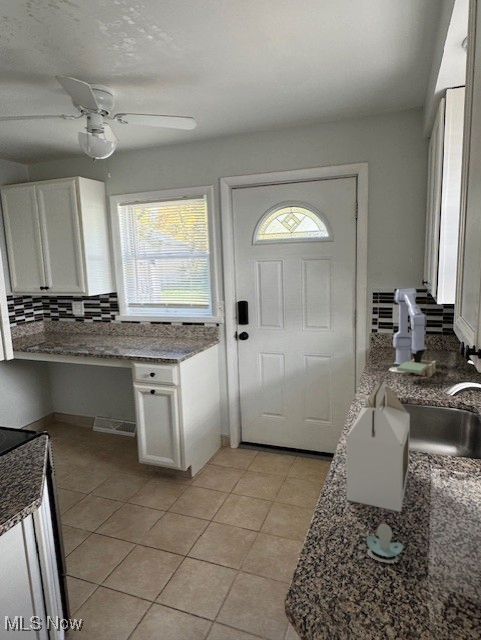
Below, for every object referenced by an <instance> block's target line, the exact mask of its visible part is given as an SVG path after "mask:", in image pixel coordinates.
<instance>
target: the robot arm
mask: <svg viewBox="0 0 481 640" xmlns="http://www.w3.org/2000/svg"><path fill="white" fill-rule="evenodd" d="M416 298H417V290H416V288H397V289H396V290H395V300H394V301H395V303H396V304H398V331H397V332H395V333H394V334H393V339H392V345H393V347H394V348H395V361H394V362H393V365H398V366H400V365H401V364H403V363H404V362H406V361H407V362H410V361H411V360H412V359H411V358H412V357H413V359H414V362H415V363H421V360H423V356H424V354H425V350H427V347H426V346H425V327H426V326H427V315H426V314H424V313H423V312H422V310H421V308H420V306H419V305H418V304H417V303H416ZM408 317H410V328H411V333H410V332H408V331H409V330H408V329H409V328H408V327H409V321H408V320H409V318H408ZM411 356H412V357H411Z"/></svg>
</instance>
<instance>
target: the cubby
mask: <svg viewBox="0 0 481 640" xmlns="http://www.w3.org/2000/svg"><path fill="white" fill-rule="evenodd" d="M410 362H414V358H413V359H411V361H410ZM421 363H424V364H429V367H428V368H427V374H426V378H427V379H430V378H431V377H432V376H433V375H434V374H435V373H436V372H437V360H433V361H432V360H424V359H421ZM412 373H413V372H407V373H406V376H409V375H411V374H412Z"/></svg>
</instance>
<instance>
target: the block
mask: <svg viewBox="0 0 481 640" xmlns="http://www.w3.org/2000/svg"><path fill="white" fill-rule="evenodd" d="M413 375H415V376H417V375H418V376H422V377H425V376H427V369H425V370H424V371H423V372H422V373H421V374H420V373H414V374H413Z"/></svg>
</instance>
